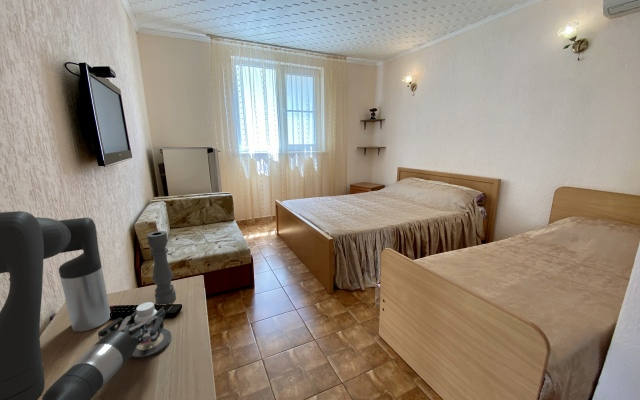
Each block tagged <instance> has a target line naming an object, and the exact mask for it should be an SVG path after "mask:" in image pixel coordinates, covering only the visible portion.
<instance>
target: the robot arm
mask: <svg viewBox="0 0 640 400" xmlns="http://www.w3.org/2000/svg"><path fill="white" fill-rule="evenodd" d="M97 233H98V232H97V227H96V224H95V221H94V220H93V219H92V218H91V217H78V218H70V219H69V218H68V219H61V220H57V219H54V218H49V217H35V216H34V215H33V214H32V213H29V212H27V211H21V210H20V211H19V210H18V211H17V210H16V211H1V212H0V274H6V273H9V290H8V295H7V297H6V300H5V302H4V304H3V306H2V308H1V309H0V400H39V399H40V397H41V396H42V394H43V392H44V390H45V386H46V385H45V383H46V382H45V373H44V365H43V364H44V363H43V359H42V350H41V349H42V347H41V335H40V332H41V331H40V330H41V329H40V327H41V326H40V325H41V323H40V322H41V311H42V298H43V297H42V295H43V282H44V281H43V275H44V260H46V259H49V258H53V257H54V256H57V255H59V254H63V253H68V252H69V253H70V252H76V251H81V250H82V251H83V252H82V253H81V254H79V255H78V256H76V257H74V258H72V259H69V260H67V261H65V262H64V263H62V264H61V265H60V266H59V268H58V274H59V278H60V282H61V286H62V290H63V295H64V299H65V304H66V307H67V312H68V316H69V317H68V318H69V321H70V324H71V329H72V331H73V332H75V333H77V332H78V333H81V332H87V331H90V330H93V329H96V328H98V327H100V326H102V325H103V324H105V323H107V322H108V321H109V320H110V319H111V317H110V313H111V308H110V302H109V298H108V297H109V296H108V292H107V287H106V283H105V282H106V280H105V277H104V271H103V266H102V261H101V256H100V250H99V249H100V248H99V244H98V234H97ZM157 311H158V312H157V313H156V314H155V315H154V316H153V317H152V318H150V319H149V320H144V321H143V322H141V323H139V324H138V325H135V322H134V318H135V316H136V315H137V311H136V310H135V311H134V312H133V313H132V314H130V315H129V316H126V317H125V318H123V317H118V318H117V319H115V320H114V321H112V322H111V323H109V324H107V326H104V327H103V328H102V329H101V330H99V331H98V332H97V335H98V341H97V342H96V343H94V345H93V346H91V347H90V348H89V349H88V350H87V351H85V353H84V354H83V355H81V357H79V358H78V359H77V360H76V361H75V363H74V364H73V365H72V366H71V367H70V368H69V369H67V371H66V372H65V373H63V374H62V375H61V376H60V377H59V378H58V379H57V380H56V381H54V383H53V384H51V385H50V386H49V388H47V390H46V391H45V392H44V394H43V396H42V398H41V400H92V399H93V398H94V397H95V396H96V395H97V393H98V392H99V391H100V389H101V388H103V387H104V386H105V385H106V384H107V383H108V382H109V381H110V380H111V379H112V378H113V377H114V376H115V375H116V373H117V372H118V371H119V370H120V369H121V368H122V367H123V366H124V365H125V363H126V362H128V359H130V358H131V355H132V354H133V353H134V351H135V349H136V347H137V345H138V344H140V343H142V342H143V341H144V340H147V339H151V342H154V341H156V340H157V338H158V336H159V334H160V333H161V331H162V329H164V326H165V325H164V319H163V318H165V316H166V311H165V308H163V307H161V308H159V309H158V310H157ZM150 323H153V324H152V325H151V326H150ZM143 326H144V328H143ZM144 329H145V330H144Z"/></svg>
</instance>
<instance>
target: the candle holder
mask: <svg viewBox="0 0 640 400" xmlns="http://www.w3.org/2000/svg"><path fill="white" fill-rule="evenodd" d="M146 240H147V244H148V246H149V248H150V249H151V251H150V252H149V254H150V255H151V256H152V257H153V270H152V277H151V279H152V282H153V283H154V284H155V285H156V287H155V289H154V298H155V304H159V305H160V304H161V305H162V304H169V303H171V304H172V302H173V303H174V302H175V301H176V299H177V295H176V288H175V286H174V285H173V284H172V279H173V277H174V273H173V271H172V269H171V267H170V264H169V262H168V255H167V253H168V252H169V249H168V247H167V245H168V242H169V239H168V234H167V231H166V230H165V231H164V230H159V231H153V232H149V233H148V234H146ZM169 305H170V304H169Z"/></svg>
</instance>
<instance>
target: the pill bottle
mask: <svg viewBox="0 0 640 400" xmlns="http://www.w3.org/2000/svg"><path fill="white" fill-rule="evenodd" d="M135 311H137V315H136V316H135V318H134V322H135V323H134V325H138V324H139V323H141V322H143V321H144V320H149V319H150V318H152V317H153V316H154V315H155V314H156V313H157V312H158V311H159V310H157V309H156V308H155V303H153V302H151V301H147V302H143V303H141V304H138V306H137V307H136V309H135ZM152 324H153V323H150V326H151V325H152ZM143 328H144V326H143ZM144 330H145V329H144ZM159 337H160V334H159V336H158V338H159ZM158 338H157V339H158ZM150 343H152V342H151V339H147V340H144V341H143V342H142V343H140V345H147V344H150Z"/></svg>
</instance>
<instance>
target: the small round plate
mask: <svg viewBox="0 0 640 400" xmlns="http://www.w3.org/2000/svg"><path fill="white" fill-rule="evenodd" d="M171 340H172V332H171V331H170V330H169V329H166V328H163V329H162V331H161V333H160V337H159V338H158V339H157V340H156V341H154V342H152V343H150V344H147V345H140V344H138V345H137V347H136V349H135V351H134V353H133V354H132V355H131V356H130V358H135V359H143V358H144V359H145V358H147V357H151V356H154V355H156V354H157V353H159V352H161V351H164V349H165V348H166V347H167V346H168V345H169V344H170V342H171Z"/></svg>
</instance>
